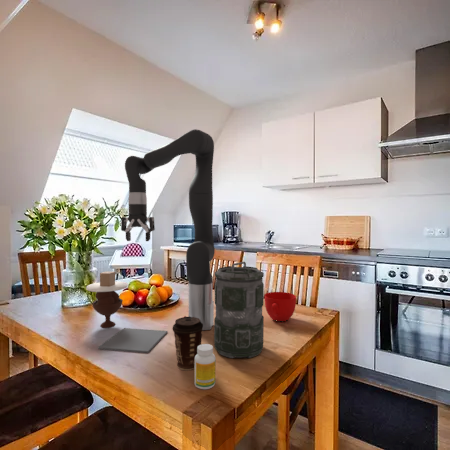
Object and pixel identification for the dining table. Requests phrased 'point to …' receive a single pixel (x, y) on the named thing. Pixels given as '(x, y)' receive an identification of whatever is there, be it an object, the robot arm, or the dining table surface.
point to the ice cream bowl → (107, 306)
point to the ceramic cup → (280, 305)
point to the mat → (134, 340)
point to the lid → (107, 283)
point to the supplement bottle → (204, 367)
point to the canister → (239, 311)
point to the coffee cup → (187, 340)
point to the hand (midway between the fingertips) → (138, 241)
